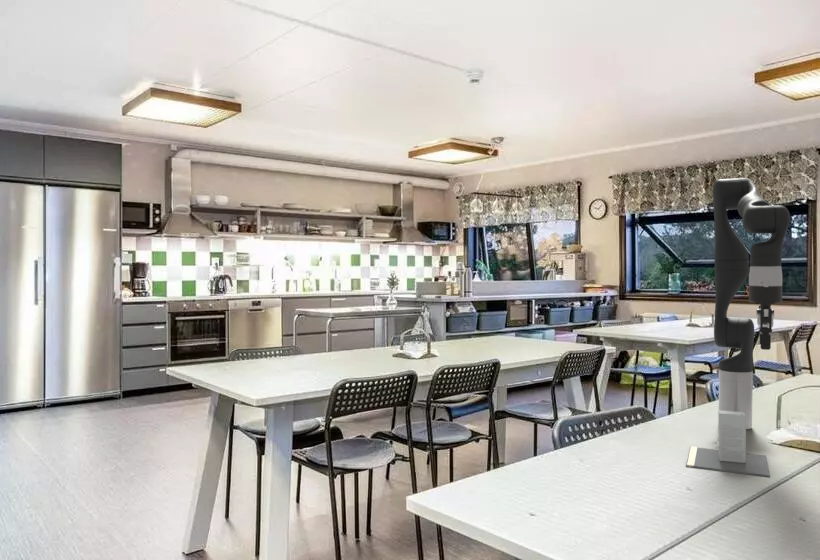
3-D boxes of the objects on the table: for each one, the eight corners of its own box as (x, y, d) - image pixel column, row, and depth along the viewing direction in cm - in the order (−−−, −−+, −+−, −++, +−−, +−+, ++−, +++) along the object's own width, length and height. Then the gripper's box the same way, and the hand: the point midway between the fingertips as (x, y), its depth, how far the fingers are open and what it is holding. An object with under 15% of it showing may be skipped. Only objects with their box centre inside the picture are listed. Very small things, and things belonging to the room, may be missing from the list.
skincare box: (744, 459, 164) (744, 411, 164) (745, 463, 160) (746, 415, 160) (717, 456, 166) (718, 409, 166) (718, 461, 162) (719, 413, 162)
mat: (690, 448, 175) (690, 446, 175) (766, 456, 168) (766, 454, 167) (685, 466, 159) (685, 464, 159) (770, 477, 151) (770, 474, 151)
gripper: (748, 282, 175) (748, 342, 176) (749, 285, 162) (748, 350, 163) (780, 282, 171) (780, 344, 172) (783, 285, 159) (783, 351, 159)
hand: (764, 347), depth 167 cm, fingers open, 8 cm apart
